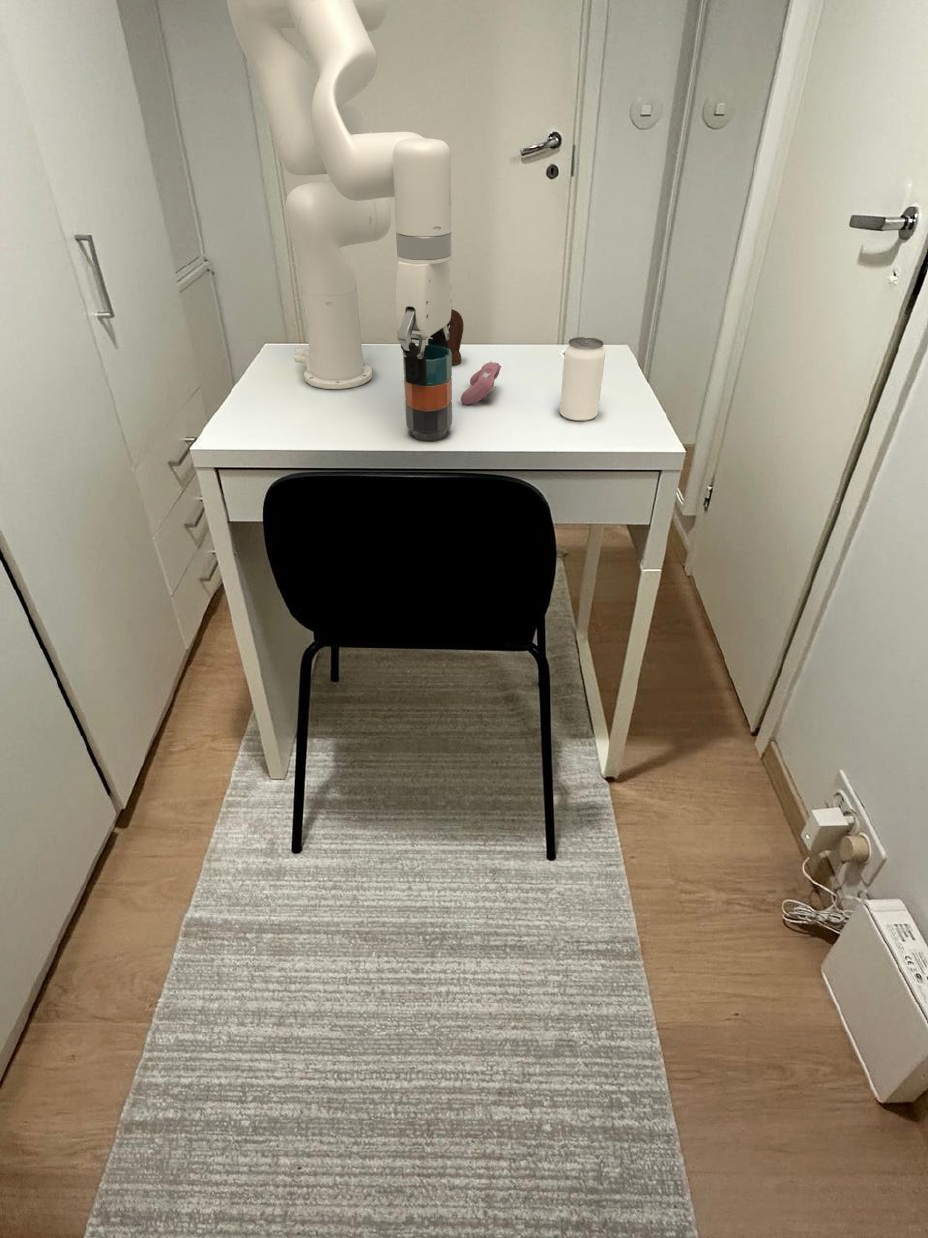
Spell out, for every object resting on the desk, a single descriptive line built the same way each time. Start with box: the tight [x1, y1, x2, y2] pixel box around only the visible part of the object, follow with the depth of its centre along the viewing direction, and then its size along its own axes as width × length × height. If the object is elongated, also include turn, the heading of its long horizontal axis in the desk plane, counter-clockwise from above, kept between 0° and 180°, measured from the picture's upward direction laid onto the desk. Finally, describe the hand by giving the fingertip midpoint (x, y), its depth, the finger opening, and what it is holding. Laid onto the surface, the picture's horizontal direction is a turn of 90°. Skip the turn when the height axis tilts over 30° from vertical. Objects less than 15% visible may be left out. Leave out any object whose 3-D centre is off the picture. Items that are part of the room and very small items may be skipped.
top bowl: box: [402, 344, 453, 386], centre depth 110 cm, size 7×7×5 cm
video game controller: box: [460, 359, 502, 405], centre depth 127 cm, size 10×5×7 cm, turn 168°
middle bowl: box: [403, 377, 453, 411], centre depth 112 cm, size 7×7×5 cm
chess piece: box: [445, 308, 465, 367], centre depth 140 cm, size 5×5×10 cm
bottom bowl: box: [404, 401, 453, 442], centre depth 115 cm, size 7×7×5 cm
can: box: [559, 336, 606, 422], centre depth 119 cm, size 6×6×12 cm
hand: (427, 373), depth 110 cm, fingers closed on top bowl, 7 cm apart
